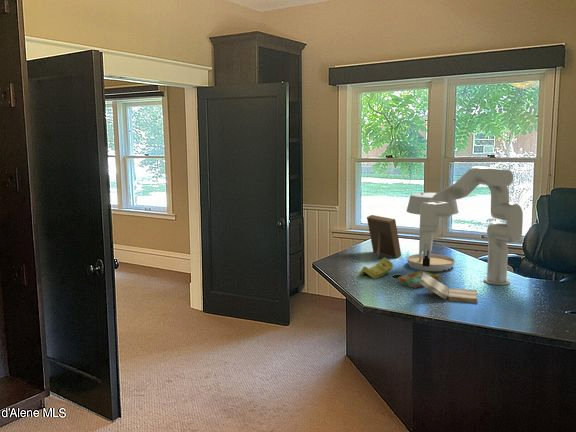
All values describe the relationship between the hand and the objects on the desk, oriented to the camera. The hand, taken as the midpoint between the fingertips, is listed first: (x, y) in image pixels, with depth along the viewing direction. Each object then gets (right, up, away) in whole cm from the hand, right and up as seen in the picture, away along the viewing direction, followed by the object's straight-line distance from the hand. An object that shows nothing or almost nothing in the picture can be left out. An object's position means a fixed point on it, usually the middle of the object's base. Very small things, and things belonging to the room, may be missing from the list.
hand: (426, 265), depth 251 cm
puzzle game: (+2, -11, +22) cm, 25 cm away
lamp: (+18, -6, +56) cm, 59 cm away
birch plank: (+4, -10, +1) cm, 11 cm away
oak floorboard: (+17, -15, -3) cm, 22 cm away
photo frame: (-7, -2, +83) cm, 84 cm away
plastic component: (-16, -9, +40) cm, 44 cm away
